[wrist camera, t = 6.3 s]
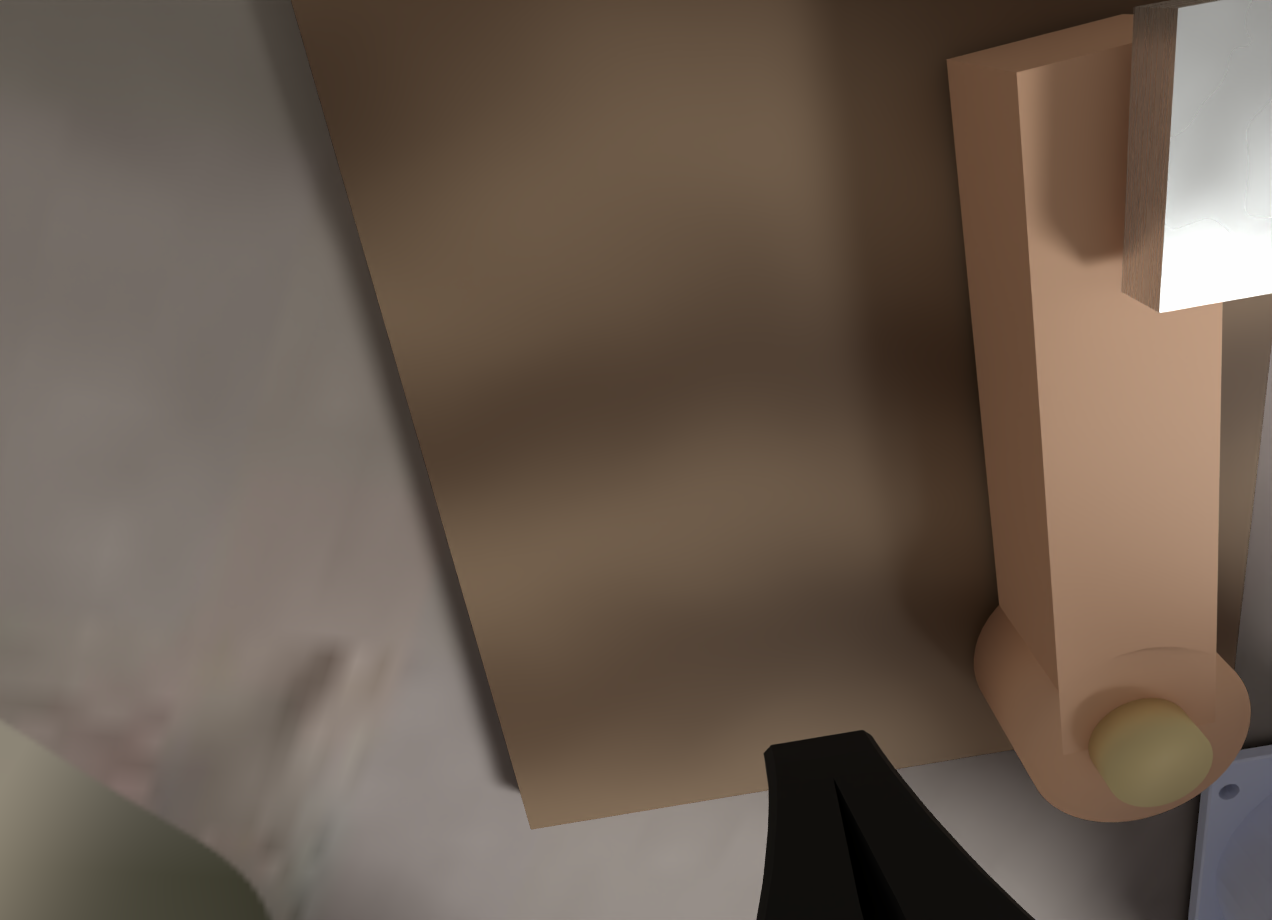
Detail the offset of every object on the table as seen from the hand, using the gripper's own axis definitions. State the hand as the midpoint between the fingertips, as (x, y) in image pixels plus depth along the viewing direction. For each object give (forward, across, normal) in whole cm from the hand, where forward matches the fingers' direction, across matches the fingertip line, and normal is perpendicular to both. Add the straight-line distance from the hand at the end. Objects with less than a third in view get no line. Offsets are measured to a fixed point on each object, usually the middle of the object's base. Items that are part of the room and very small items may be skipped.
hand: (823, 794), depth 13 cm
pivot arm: (+8, -7, 0) cm, 10 cm away
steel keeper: (+8, -8, -6) cm, 13 cm away
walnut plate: (+9, -2, -2) cm, 10 cm away
